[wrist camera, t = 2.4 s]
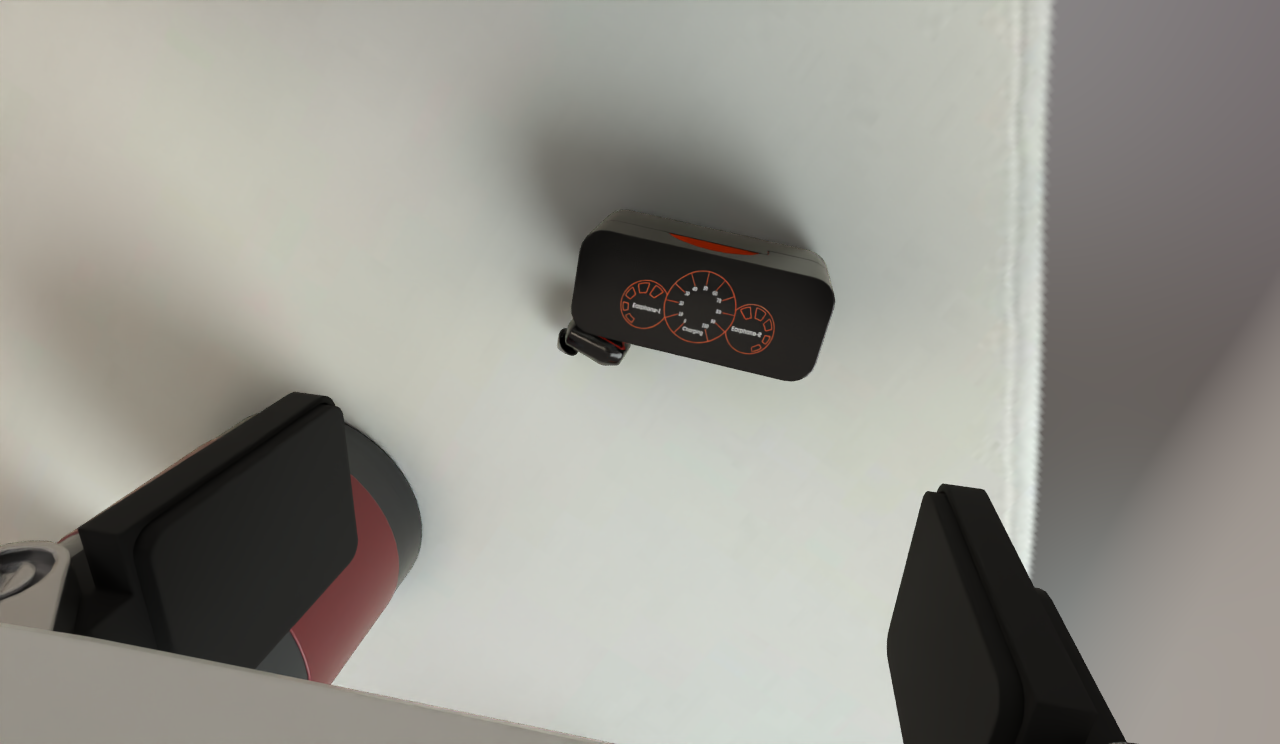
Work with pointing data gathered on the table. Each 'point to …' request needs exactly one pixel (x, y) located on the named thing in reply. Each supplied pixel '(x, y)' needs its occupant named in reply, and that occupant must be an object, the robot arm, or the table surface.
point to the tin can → (363, 584)
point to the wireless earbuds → (698, 297)
